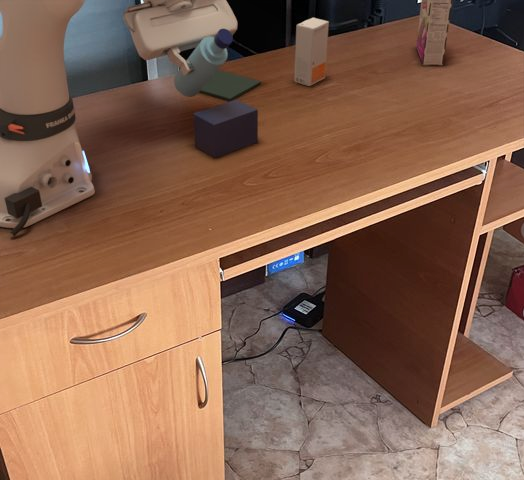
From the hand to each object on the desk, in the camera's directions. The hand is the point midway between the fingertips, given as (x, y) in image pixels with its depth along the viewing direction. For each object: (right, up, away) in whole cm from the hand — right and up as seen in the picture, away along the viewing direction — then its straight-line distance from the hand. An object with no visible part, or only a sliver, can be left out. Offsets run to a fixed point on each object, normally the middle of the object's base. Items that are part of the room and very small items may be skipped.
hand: (204, 68), depth 139 cm
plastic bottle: (0, -5, +4) cm, 6 cm away
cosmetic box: (+20, +8, +28) cm, 36 cm away
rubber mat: (+2, +5, +26) cm, 26 cm away
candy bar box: (+48, +17, +39) cm, 64 cm away
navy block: (+4, -12, +5) cm, 14 cm away
